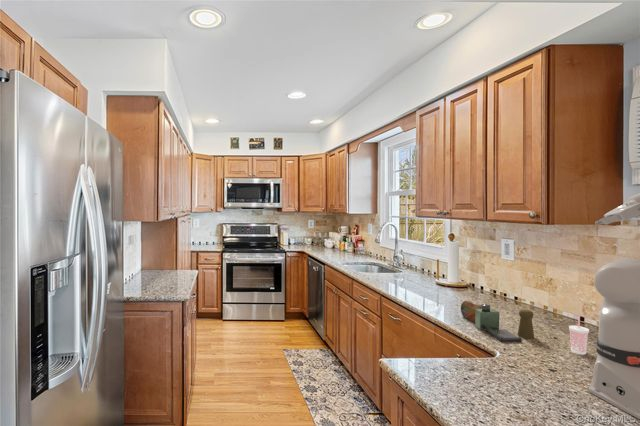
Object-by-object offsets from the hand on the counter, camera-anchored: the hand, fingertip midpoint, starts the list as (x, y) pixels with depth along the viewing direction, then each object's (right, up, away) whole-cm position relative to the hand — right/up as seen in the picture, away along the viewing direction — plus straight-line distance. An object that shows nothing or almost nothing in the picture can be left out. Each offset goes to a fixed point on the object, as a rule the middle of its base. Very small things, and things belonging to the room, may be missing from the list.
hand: (599, 223), depth 131 cm
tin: (-32, -47, +35) cm, 67 cm away
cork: (-19, -48, +15) cm, 54 cm away
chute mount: (-30, -48, +18) cm, 59 cm away
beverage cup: (-9, -48, -1) cm, 49 cm away
